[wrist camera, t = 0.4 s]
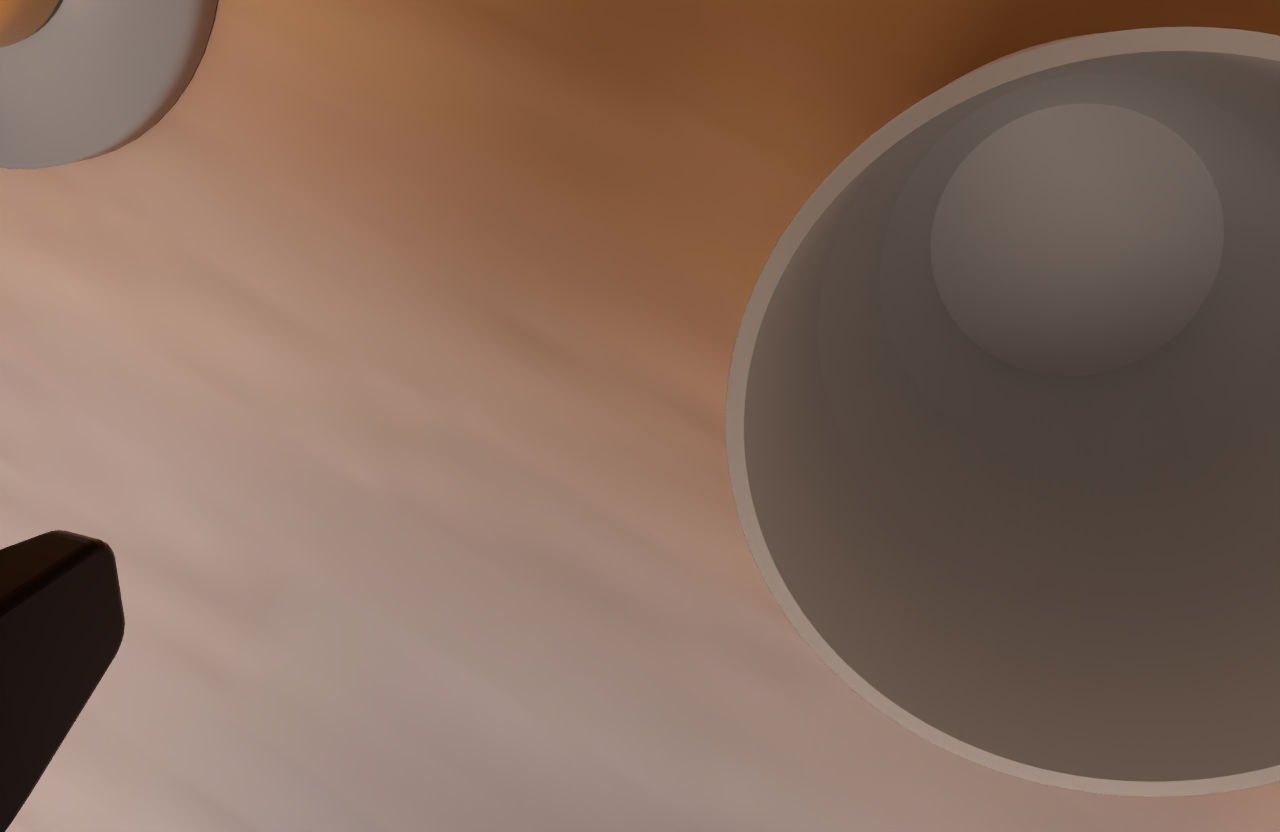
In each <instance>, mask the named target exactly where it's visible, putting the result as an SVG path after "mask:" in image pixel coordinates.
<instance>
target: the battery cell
mask: <svg viewBox="0 0 1280 832" xmlns="http://www.w3.org/2000/svg"><path fill="white" fill-rule="evenodd" d="M62 2H63V0H0V47H5V46H9V45H12V44H15V43H17V42H20V41H22V40H23V39H26V38H28V37H29V36H31V35H33V34H34V33H36V32H38V31H39V30H40V29H41V28H42V27H43V26H44V25H46V24H47V23H48V22H49V20H50V19H51V18H52V17H53V16H54V14H55V13H56V12H57V10H58V9H59V7H60V5H61V3H62Z"/></svg>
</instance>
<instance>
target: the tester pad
mask: <svg viewBox="0 0 1280 832" xmlns="http://www.w3.org/2000/svg"><path fill="white" fill-rule="evenodd" d="M217 1H218V0H63V2H62V3H61V5H60V7H59V9H58V10H57V12H56V13H55V14H54V16H53V17H52V18H51V19H50V20H49V22H48V23H47V24H46V25H44V26H43V27H42V28H41V29H40V30H39V31H38V32H36V33H34V34H33V35H31V36H29V37H28V38H26V39H23V40H22V41H20V42H17V43H15V44H12V45H9V46H5V47H0V167H2V168H8V169H38V168H44V167H51V166H58V165H63V164H67V163H72V162H76V161H81V160H86V159H90V158H94V157H97V156H100V155H103V154H106V153H109V152H112V151H115V150H117V149H119V148H121V147H123V146H124V145H126V144H128V143H130V142H132V141H134V140H136V139H137V138H139V137H140V136H141V135H142V134H144V133H145V132H146V131H148V130H149V129H150V128H151V127H153V126H154V125H155V124H157V123H158V122H159V120H160V119H161V118H162V117H163V116H164V115H165V114H166V113H167V112H168V111H169V110H170V109H171V107H172V106H173V105H174V104H175V103H176V101H177V100H178V98H179V97H180V95H181V94H182V93H183V91H184V90H185V88H186V87H187V85H188V84H189V82H190V81H191V79H192V76H193V74H194V72H195V70H196V68H197V66H198V64H199V62H200V60H201V58H202V56H203V53H204V50H205V47H206V44H207V41H208V38H209V35H210V32H211V29H212V26H213V22H214V16H215V11H216V6H217Z"/></svg>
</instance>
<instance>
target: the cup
mask: <svg viewBox="0 0 1280 832" xmlns="http://www.w3.org/2000/svg"><path fill="white" fill-rule="evenodd" d="M726 448H727V459H728V468H729V474H730V481H731V486H732V491H733V496H734V501H735V504H736V508H737V512H738V516H739V519H740V522H741V525H742V529H743V532H744V535H745V537H746V540H747V543H748V545H749V548H750V550H751V553H752V555H753V557H754V560H755V562H756V564H757V566H758V568H759V570H760V572H761V575H762V577H763V579H764V580H765V582H766V584H767V586H768V588H769V590H770V591H771V593H772V595H773V597H774V598H775V600H776V601H777V603H778V605H779V606H780V608H781V609H782V611H783V612H784V614H785V615H786V617H787V618H788V620H789V621H790V623H791V624H792V625H793V627H794V628H795V629H796V631H797V632H798V633H799V635H800V636H801V637H802V638H803V639H804V641H805V642H806V643H807V644H808V646H809V647H810V648H811V649H812V650H813V651H814V652H815V654H816V655H817V656H818V657H819V658H820V659H821V660H822V661H823V662H824V663H825V664H826V665H827V666H828V667H829V668H830V669H831V670H832V671H833V672H834V673H835V674H836V675H837V676H838V677H839V678H840V679H841V680H842V681H843V682H844V683H845V684H846V685H848V686H849V687H850V688H851V689H852V690H853V691H855V692H856V693H857V694H858V695H859V696H861V697H862V698H863V699H864V700H866V701H867V702H868V703H870V704H871V705H872V706H873V707H875V708H876V709H878V710H879V711H880V712H882V713H883V714H885V715H886V716H887V717H889V718H890V719H892V720H893V721H895V722H896V723H898V724H900V725H901V726H903V727H904V728H906V729H908V730H909V731H911V732H913V733H914V734H916V735H918V736H919V737H921V738H923V739H925V740H927V741H929V742H931V743H932V744H934V745H936V746H938V747H940V748H942V749H945V750H947V751H949V752H951V753H953V754H955V755H957V756H960V757H962V758H964V759H967V760H969V761H972V762H974V763H977V764H979V765H982V766H984V767H987V768H990V769H993V770H996V771H999V772H1002V773H1005V774H1008V775H1011V776H1015V777H1018V778H1021V779H1025V780H1029V781H1033V782H1037V783H1041V784H1045V785H1050V786H1054V787H1060V788H1065V789H1071V790H1076V791H1083V792H1090V793H1099V794H1108V795H1121V796H1142V797H1173V796H1192V795H1204V794H1214V793H1222V792H1230V791H1236V790H1242V789H1248V788H1253V787H1258V786H1263V785H1268V784H1272V783H1276V782H1280V36H1279V35H1273V34H1268V33H1262V32H1255V31H1247V30H1239V29H1227V28H1215V27H1157V28H1141V29H1132V30H1123V31H1114V32H1105V33H1096V34H1087V35H1081V36H1075V37H1069V38H1064V39H1059V40H1054V41H1051V42H1047V43H1043V44H1039V45H1036V46H1032V47H1029V48H1026V49H1022V50H1020V51H1017V52H1014V53H1011V54H1009V55H1006V56H1004V57H1001V58H999V59H996V60H994V61H991V62H989V63H987V64H985V65H983V66H981V67H979V68H977V69H975V70H973V71H971V72H969V73H967V74H965V75H963V76H962V77H960V78H958V79H956V80H955V81H953V82H951V83H949V84H948V85H946V86H944V87H943V88H941V89H939V90H937V91H936V92H934V93H932V94H931V95H929V96H927V97H925V98H924V99H922V100H920V101H919V102H917V103H916V104H914V105H913V106H911V107H909V108H908V109H906V110H905V111H903V112H902V113H900V114H899V115H898V116H896V117H895V118H893V119H892V120H891V121H889V122H888V123H886V124H885V125H884V126H882V127H881V128H880V129H879V130H877V131H876V132H875V133H874V134H872V135H871V136H870V137H869V138H867V139H866V140H865V141H864V142H863V143H862V144H860V145H859V146H858V147H857V148H856V149H855V150H854V151H852V152H851V153H850V154H849V155H848V156H847V157H846V158H845V159H844V160H843V161H842V162H841V163H840V164H839V165H838V166H837V167H836V168H835V169H834V170H833V171H832V172H831V173H830V174H829V175H828V176H827V177H826V178H825V180H824V181H823V182H822V183H821V184H820V185H819V186H818V188H817V189H816V190H815V191H814V192H813V193H812V195H811V196H810V197H809V198H808V199H807V201H806V202H805V203H804V205H803V206H802V207H801V209H800V210H799V211H798V212H797V214H796V215H795V217H794V218H793V220H792V221H791V222H790V224H789V225H788V227H787V228H786V230H785V231H784V233H783V234H782V236H781V238H780V239H779V241H778V242H777V244H776V246H775V247H774V249H773V251H772V253H771V255H770V256H769V258H768V260H767V262H766V264H765V266H764V268H763V270H762V272H761V274H760V276H759V278H758V280H757V283H756V285H755V287H754V289H753V292H752V294H751V297H750V299H749V302H748V305H747V307H746V310H745V313H744V316H743V319H742V322H741V325H740V328H739V332H738V336H737V340H736V343H735V347H734V352H733V357H732V362H731V367H730V374H729V380H728V389H727V399H726Z"/></svg>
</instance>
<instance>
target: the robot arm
mask: <svg viewBox="0 0 1280 832" xmlns="http://www.w3.org/2000/svg"><path fill="white" fill-rule="evenodd" d="M124 626H125V620H124V612H123V606H122V600H121V593H120V587H119V580H118V574H117V568H116V561H115V556H114V553H113V551H112V550H111V548H110V547H109V545H108V544H107V543H105V542H103V541H102V540H99V539H95V538H91V537H87V536H84V535H80V534H76V533H72V532H68V531H60V530H57V531H51V532H48V533H44V534H42V535H39V536H36V537H34V538H31V539H28V540H25V541H23V542H20V543H17V544H15V545H12V546H9V547H7V548H4V549H1V550H0V832H5V831H6V829H7V828H8V827H9V825H10V824H11V822H12V821H13V819H14V818H15V816H16V815H17V813H18V812H19V810H20V809H21V807H22V806H23V804H24V803H25V801H26V800H27V798H28V797H29V795H30V794H31V792H32V790H33V789H34V787H35V786H36V784H37V782H38V781H39V779H40V777H41V776H42V774H43V773H44V771H45V769H46V768H47V766H48V764H49V763H50V761H51V760H52V758H53V756H54V755H55V753H56V751H57V750H58V748H59V747H60V745H61V743H62V742H63V740H64V738H65V737H66V735H67V734H68V732H69V730H70V729H71V727H72V725H73V724H74V722H75V721H76V719H77V717H78V716H79V714H80V713H81V711H82V709H83V708H84V706H85V704H86V703H87V701H88V700H89V698H90V696H91V695H92V693H93V691H94V690H95V688H96V687H97V685H98V683H99V682H100V680H101V678H102V677H103V675H104V674H105V672H106V670H107V669H108V667H109V665H110V664H111V662H112V661H113V659H114V657H115V655H116V654H117V652H118V650H119V647H120V645H121V642H122V638H123V634H124Z"/></svg>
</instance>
